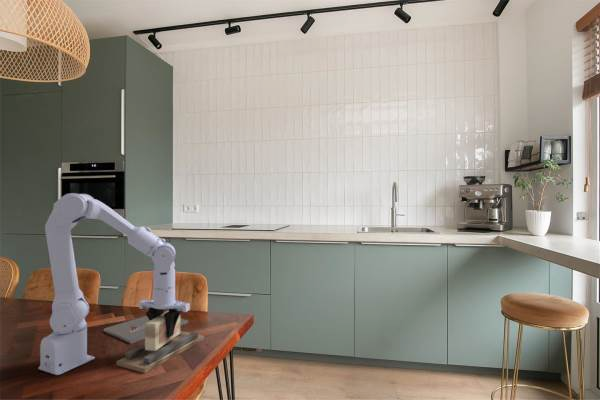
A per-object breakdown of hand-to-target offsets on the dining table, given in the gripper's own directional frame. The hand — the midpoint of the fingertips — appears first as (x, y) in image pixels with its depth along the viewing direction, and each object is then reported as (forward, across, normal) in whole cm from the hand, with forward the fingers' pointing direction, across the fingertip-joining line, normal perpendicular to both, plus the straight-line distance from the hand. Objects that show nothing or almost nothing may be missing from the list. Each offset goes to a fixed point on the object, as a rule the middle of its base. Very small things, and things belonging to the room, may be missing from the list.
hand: (164, 335), depth 94 cm
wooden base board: (+4, 0, 0) cm, 4 cm away
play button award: (+5, +16, -15) cm, 23 cm away
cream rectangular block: (+2, 0, 0) cm, 2 cm away
